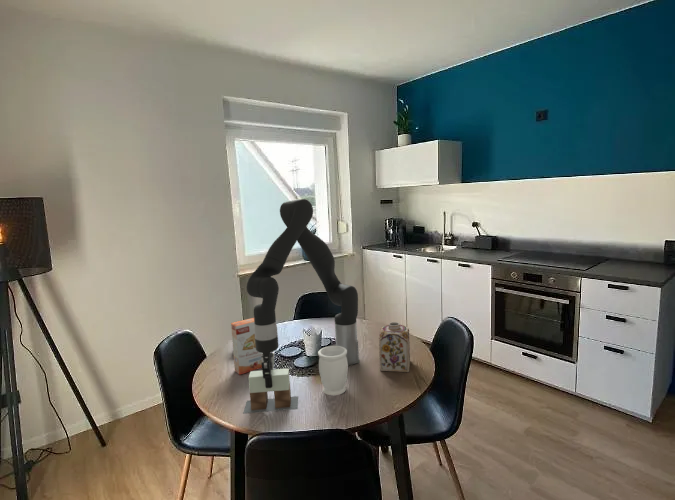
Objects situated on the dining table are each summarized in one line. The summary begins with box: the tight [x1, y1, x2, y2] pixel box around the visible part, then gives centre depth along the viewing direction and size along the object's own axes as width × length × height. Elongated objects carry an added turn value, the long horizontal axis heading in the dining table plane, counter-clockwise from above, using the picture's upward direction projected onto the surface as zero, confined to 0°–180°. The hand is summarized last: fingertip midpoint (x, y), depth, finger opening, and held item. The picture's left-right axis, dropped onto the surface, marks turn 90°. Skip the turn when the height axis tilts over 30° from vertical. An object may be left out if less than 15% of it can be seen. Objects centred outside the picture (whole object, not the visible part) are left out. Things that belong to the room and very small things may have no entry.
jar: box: [317, 345, 349, 396], centre depth 136 cm, size 11×10×15 cm
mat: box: [242, 396, 299, 414], centre depth 128 cm, size 18×8×1 cm, turn 94°
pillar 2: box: [273, 385, 292, 408], centre depth 128 cm, size 5×5×6 cm
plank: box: [248, 368, 291, 394], centre depth 127 cm, size 13×4×6 cm, turn 94°
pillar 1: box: [249, 392, 269, 410], centre depth 128 cm, size 5×5×6 cm
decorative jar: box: [378, 321, 411, 373], centre depth 153 cm, size 12×12×18 cm
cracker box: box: [230, 317, 262, 376], centre depth 157 cm, size 14×6×21 cm, turn 126°
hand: (270, 383), depth 127 cm, fingers open, 5 cm apart
